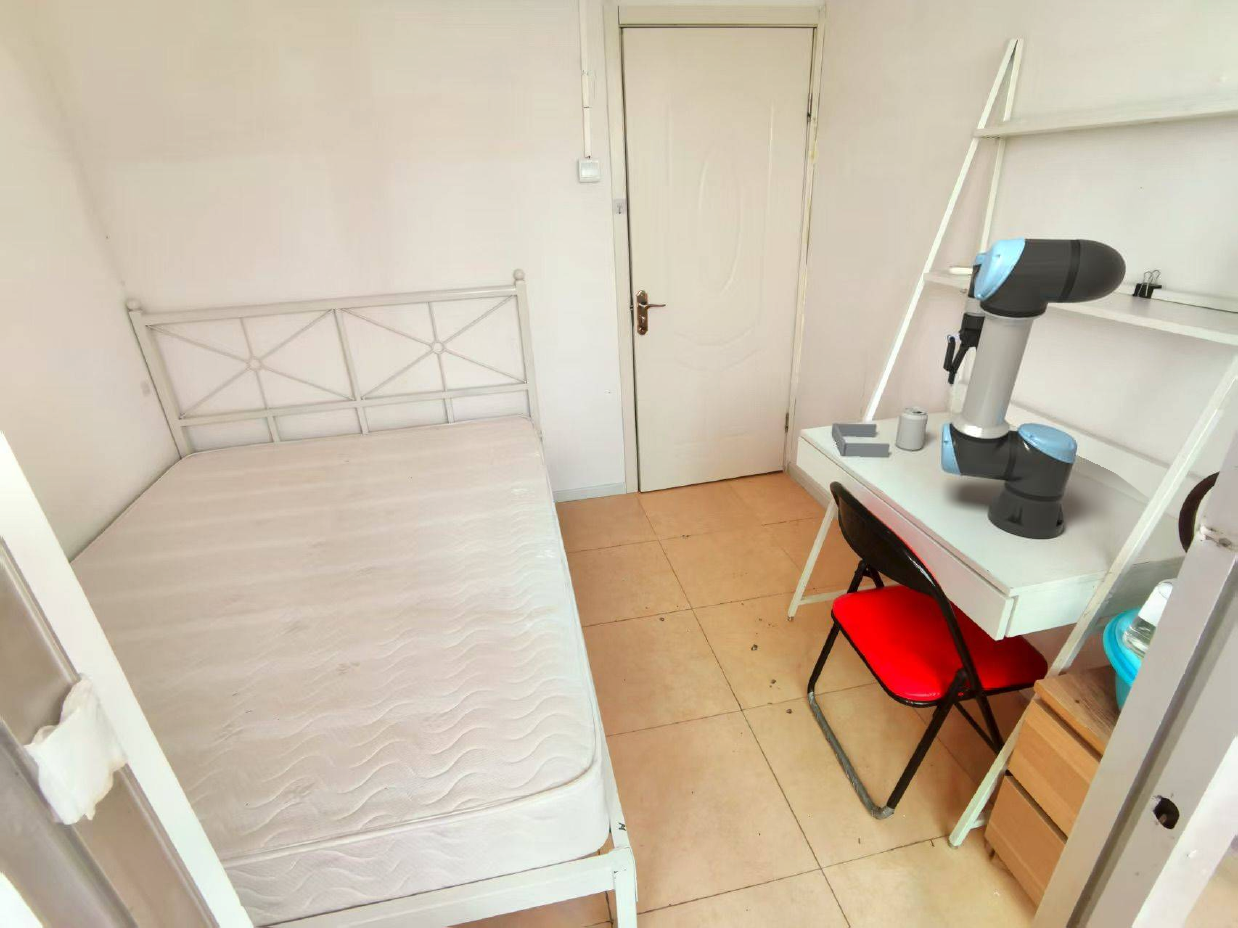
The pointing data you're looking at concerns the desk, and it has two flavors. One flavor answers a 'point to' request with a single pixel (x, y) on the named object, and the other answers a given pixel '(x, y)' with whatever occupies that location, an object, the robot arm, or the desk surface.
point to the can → (911, 428)
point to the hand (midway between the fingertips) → (961, 394)
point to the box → (858, 448)
